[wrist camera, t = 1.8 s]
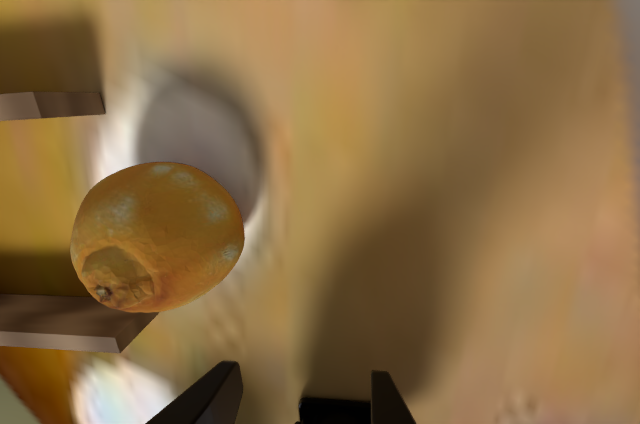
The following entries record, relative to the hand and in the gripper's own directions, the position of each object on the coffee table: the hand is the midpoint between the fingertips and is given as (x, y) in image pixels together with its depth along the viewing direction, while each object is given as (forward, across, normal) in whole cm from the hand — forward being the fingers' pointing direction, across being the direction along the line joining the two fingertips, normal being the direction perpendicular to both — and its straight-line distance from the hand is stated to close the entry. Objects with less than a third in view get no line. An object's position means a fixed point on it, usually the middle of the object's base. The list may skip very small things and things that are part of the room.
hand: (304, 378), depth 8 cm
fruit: (+12, +10, 0) cm, 16 cm away
